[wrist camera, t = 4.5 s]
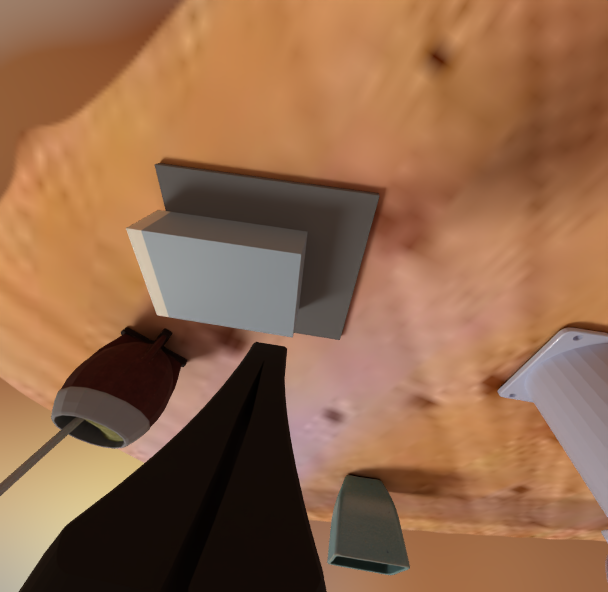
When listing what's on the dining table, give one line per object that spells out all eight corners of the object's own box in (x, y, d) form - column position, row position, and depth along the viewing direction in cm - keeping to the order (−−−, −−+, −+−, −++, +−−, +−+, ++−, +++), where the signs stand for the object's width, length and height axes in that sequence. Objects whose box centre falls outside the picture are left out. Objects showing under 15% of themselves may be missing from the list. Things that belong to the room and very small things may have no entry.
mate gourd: (205, 348, 23) (61, 603, 11) (173, 380, 27) (43, 591, 15) (126, 302, 21) (-162, 565, 9) (104, 345, 25) (-112, 563, 13)
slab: (301, 254, 12) (125, 228, 13) (292, 337, 16) (157, 315, 16) (307, 231, 15) (158, 209, 15) (298, 309, 18) (179, 290, 19)
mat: (378, 193, 13) (379, 195, 13) (339, 336, 20) (339, 340, 20) (158, 163, 14) (154, 164, 13) (193, 312, 20) (191, 316, 20)
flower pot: (383, 495, 41) (392, 577, 34) (329, 486, 41) (326, 565, 34) (398, 476, 35) (411, 569, 28) (335, 466, 36) (333, 555, 29)
